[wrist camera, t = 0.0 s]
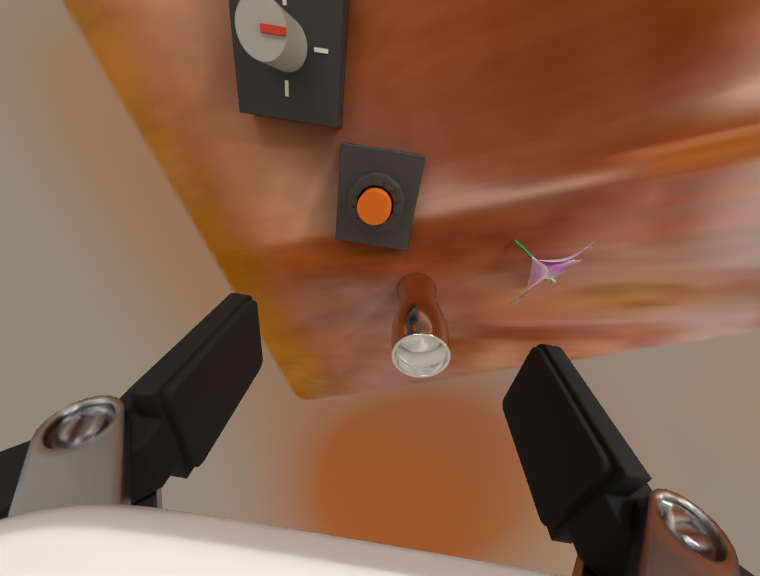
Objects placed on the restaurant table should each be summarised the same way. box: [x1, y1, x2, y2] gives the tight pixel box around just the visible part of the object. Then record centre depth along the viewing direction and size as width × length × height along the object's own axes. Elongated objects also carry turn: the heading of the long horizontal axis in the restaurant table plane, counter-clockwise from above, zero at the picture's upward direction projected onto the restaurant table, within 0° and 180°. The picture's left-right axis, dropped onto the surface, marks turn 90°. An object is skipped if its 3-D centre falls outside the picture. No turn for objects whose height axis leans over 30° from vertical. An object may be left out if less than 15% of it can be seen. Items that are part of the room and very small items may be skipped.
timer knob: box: [235, 0, 307, 72], centre depth 25 cm, size 4×4×6 cm
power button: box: [357, 188, 392, 225], centre depth 34 cm, size 4×4×2 cm
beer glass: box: [391, 273, 451, 378], centre depth 38 cm, size 7×7×15 cm
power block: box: [336, 142, 425, 251], centre depth 36 cm, size 12×10×4 cm
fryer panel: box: [229, 0, 349, 128], centre depth 29 cm, size 13×11×3 cm
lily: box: [505, 240, 596, 308], centre depth 37 cm, size 12×12×10 cm
